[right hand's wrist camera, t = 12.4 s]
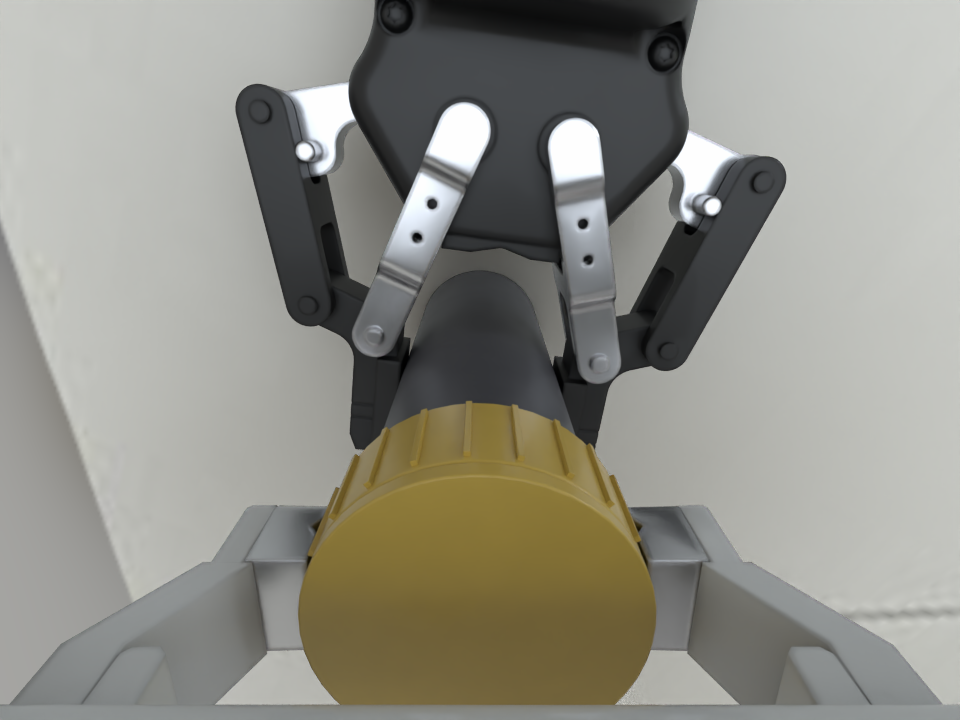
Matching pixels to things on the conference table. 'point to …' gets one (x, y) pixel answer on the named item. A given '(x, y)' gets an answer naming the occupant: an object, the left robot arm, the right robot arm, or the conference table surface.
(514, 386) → the jar
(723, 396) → the conference table surface
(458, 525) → the lid
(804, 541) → the conference table surface
